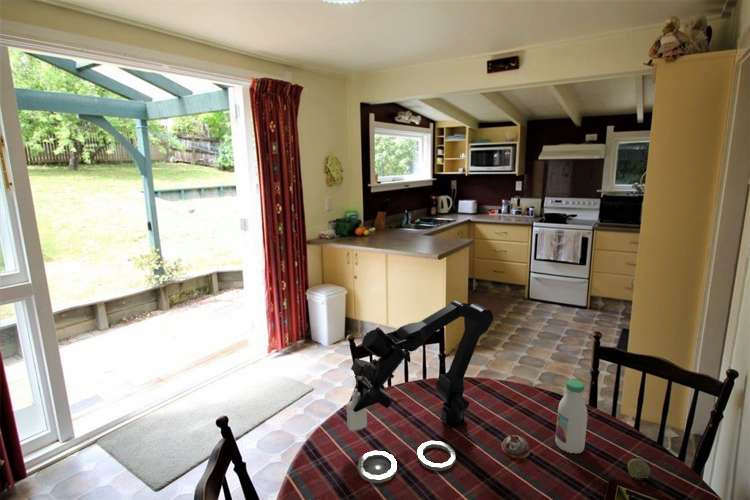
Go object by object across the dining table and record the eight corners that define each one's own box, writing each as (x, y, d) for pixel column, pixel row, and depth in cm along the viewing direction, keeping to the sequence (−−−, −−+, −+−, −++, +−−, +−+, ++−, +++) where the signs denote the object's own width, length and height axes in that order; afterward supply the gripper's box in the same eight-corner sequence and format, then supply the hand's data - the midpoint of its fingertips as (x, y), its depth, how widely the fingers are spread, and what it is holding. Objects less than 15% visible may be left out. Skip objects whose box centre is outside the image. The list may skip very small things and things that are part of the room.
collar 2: (441, 440, 120) (442, 437, 120) (462, 463, 110) (462, 459, 110) (411, 450, 116) (411, 447, 115) (430, 475, 106) (430, 471, 106)
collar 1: (386, 450, 116) (386, 447, 116) (403, 475, 106) (403, 471, 106) (352, 461, 112) (352, 457, 112) (367, 487, 102) (366, 483, 102)
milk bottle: (583, 441, 119) (589, 379, 115) (584, 457, 112) (591, 393, 108) (555, 434, 122) (560, 374, 118) (554, 450, 115) (560, 386, 111)
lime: (651, 480, 104) (654, 464, 103) (637, 485, 102) (639, 468, 101) (636, 468, 108) (638, 452, 107) (622, 472, 107) (624, 456, 106)
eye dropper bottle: (365, 432, 114) (364, 394, 111) (346, 431, 114) (344, 393, 112) (367, 422, 118) (366, 385, 116) (348, 421, 119) (347, 385, 116)
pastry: (499, 454, 114) (500, 439, 113) (502, 438, 121) (503, 423, 120) (529, 462, 111) (531, 446, 110) (531, 445, 118) (532, 430, 117)
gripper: (357, 337, 121) (323, 378, 120) (380, 364, 104) (341, 412, 103) (381, 356, 126) (349, 396, 124) (407, 385, 109) (371, 431, 107)
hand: (352, 407), depth 114 cm, fingers closed on eye dropper bottle, 3 cm apart
